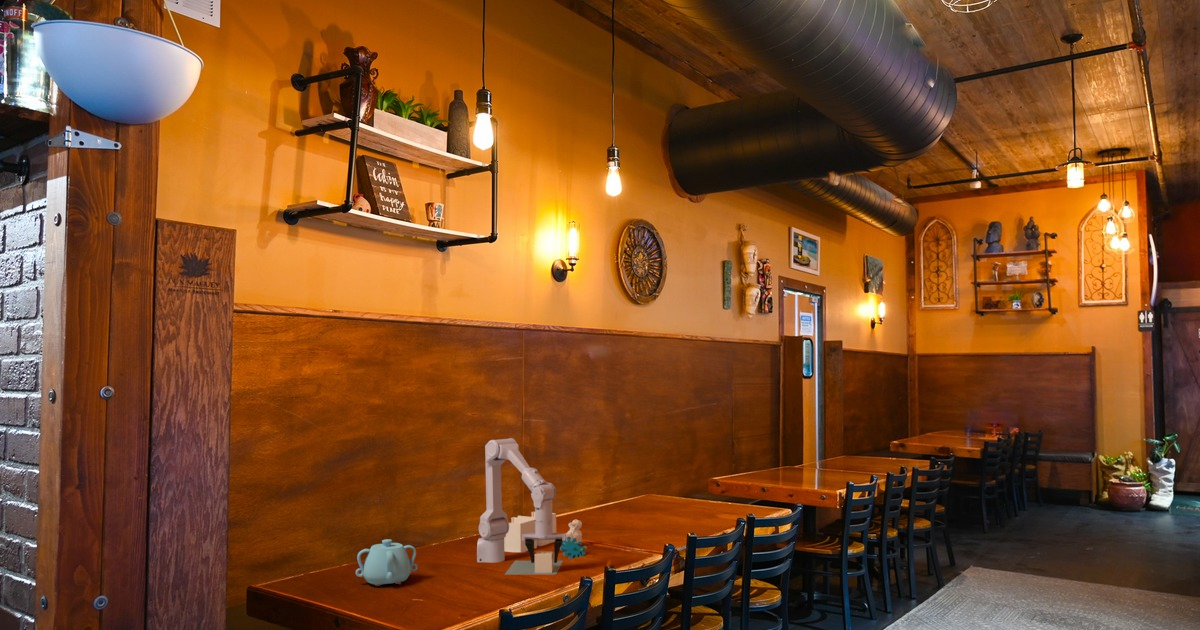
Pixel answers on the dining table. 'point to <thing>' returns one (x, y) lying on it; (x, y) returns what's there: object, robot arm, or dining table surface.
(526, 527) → the storage container
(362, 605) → the dining table surface
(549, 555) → the cabinet with handle
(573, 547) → the gear
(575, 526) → the bust
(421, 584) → the dining table surface
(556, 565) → the base plate
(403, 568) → the decorative pot
